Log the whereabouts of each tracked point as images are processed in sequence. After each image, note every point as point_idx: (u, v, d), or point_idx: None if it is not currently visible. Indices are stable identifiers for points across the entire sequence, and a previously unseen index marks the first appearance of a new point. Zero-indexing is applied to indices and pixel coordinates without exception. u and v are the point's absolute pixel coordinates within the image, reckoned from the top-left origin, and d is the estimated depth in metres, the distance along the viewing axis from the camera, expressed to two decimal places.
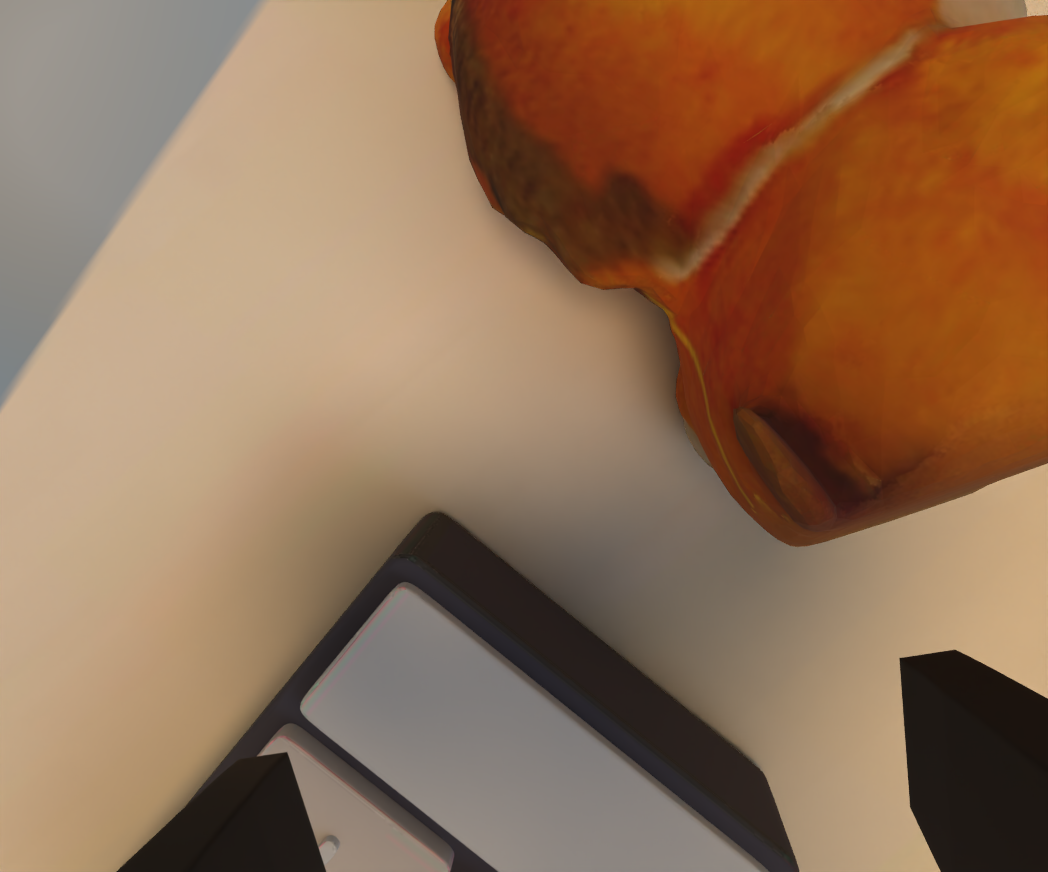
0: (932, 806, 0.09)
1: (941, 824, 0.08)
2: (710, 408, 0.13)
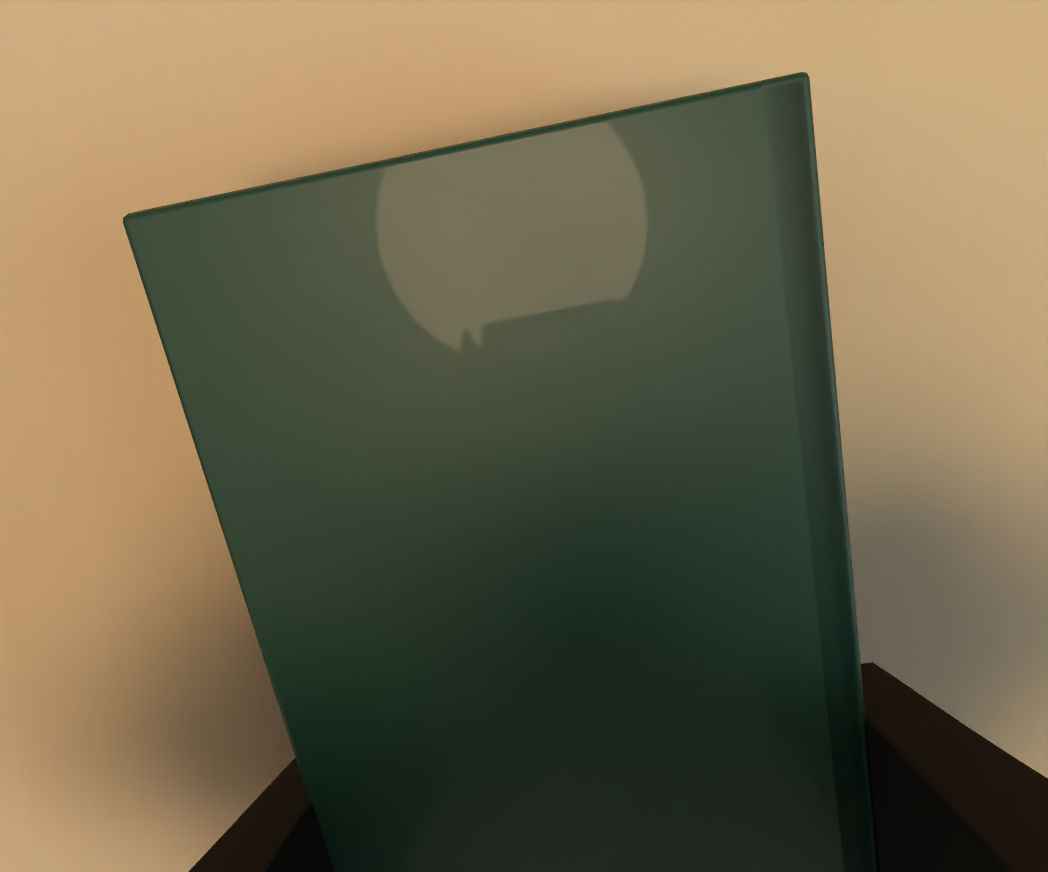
0: None
1: None
2: None
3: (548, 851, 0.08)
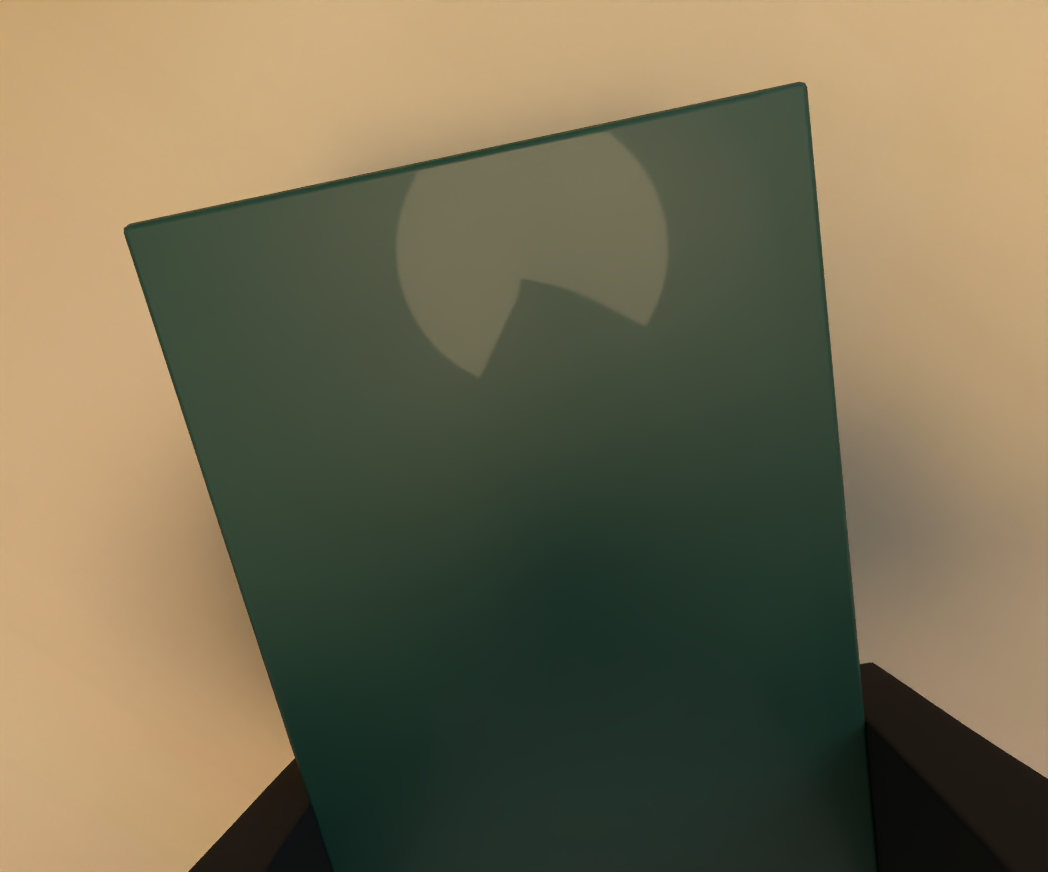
0: None
1: None
2: None
3: (549, 857, 0.08)
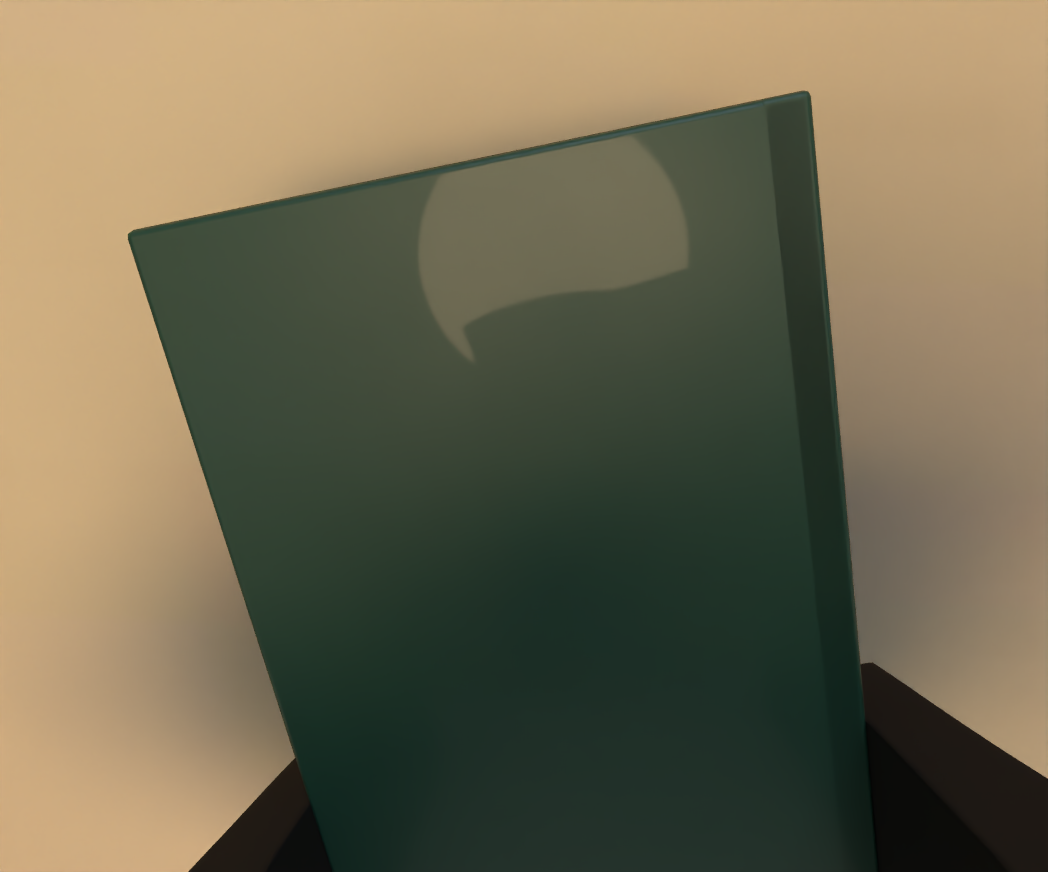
0: None
1: None
2: None
3: (550, 862, 0.08)
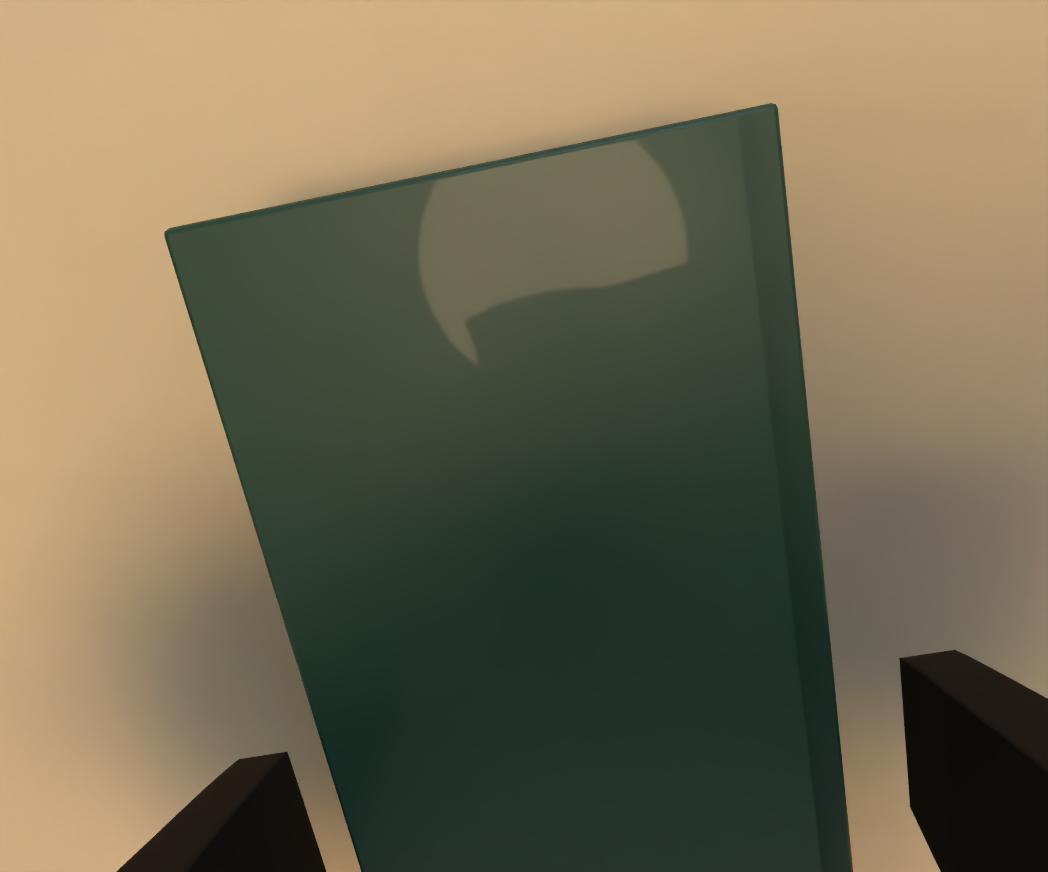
0: (932, 806, 0.09)
1: (941, 824, 0.08)
2: None
3: (546, 809, 0.09)
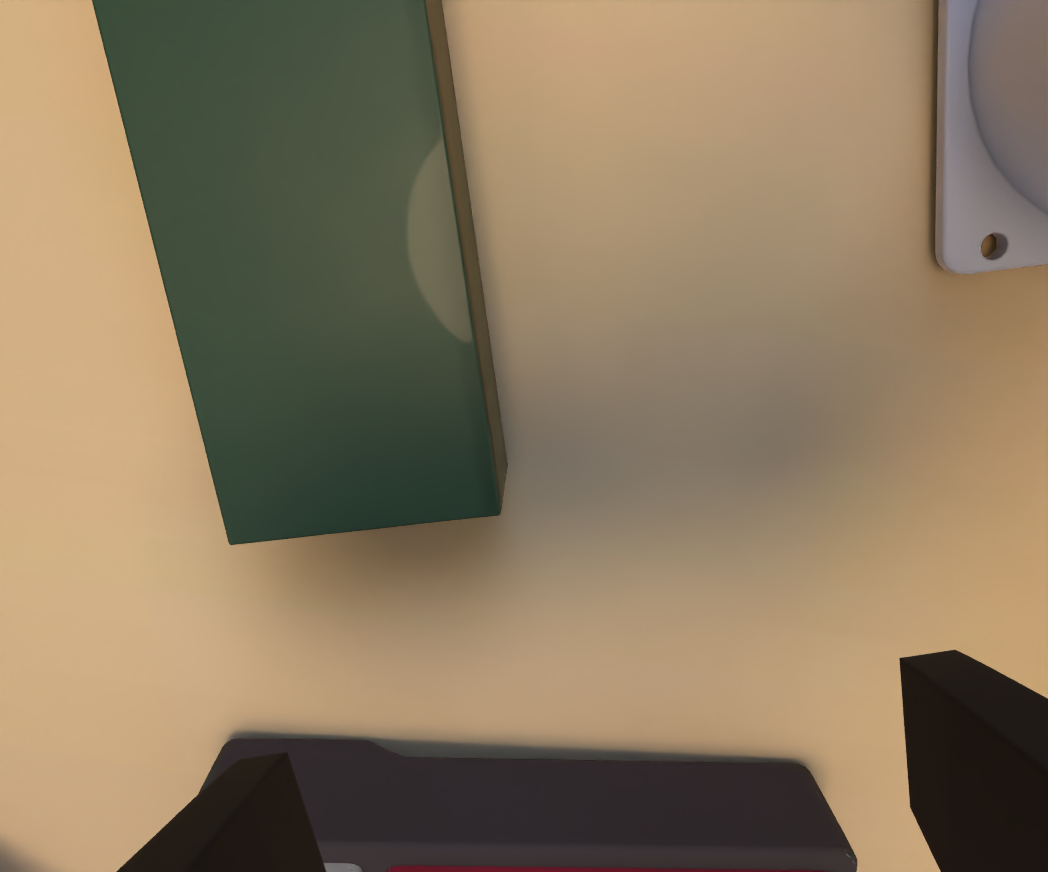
0: (932, 806, 0.09)
1: (941, 824, 0.08)
2: None
3: (254, 131, 0.13)
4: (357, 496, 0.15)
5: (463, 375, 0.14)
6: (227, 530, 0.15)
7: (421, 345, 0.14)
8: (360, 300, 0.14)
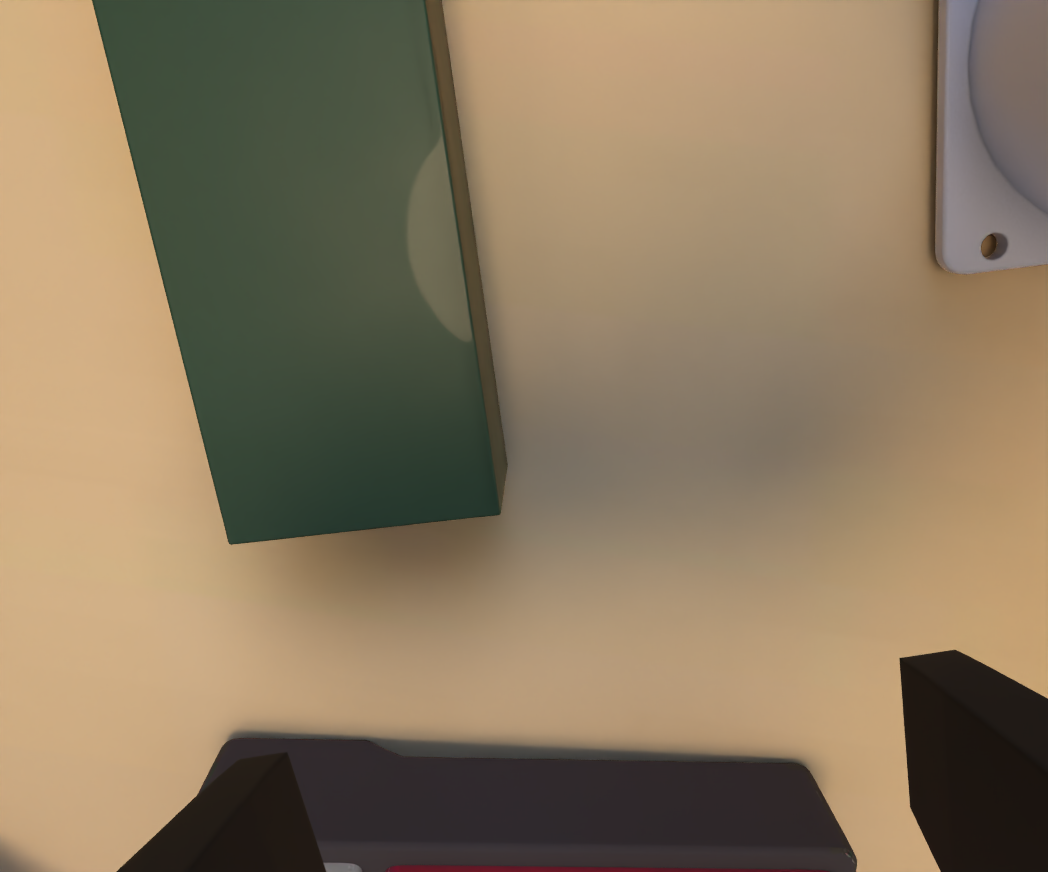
0: (932, 806, 0.09)
1: (941, 824, 0.08)
2: None
3: (254, 130, 0.13)
4: (357, 496, 0.15)
5: (463, 375, 0.14)
6: (227, 530, 0.15)
7: (421, 345, 0.14)
8: (360, 300, 0.14)
